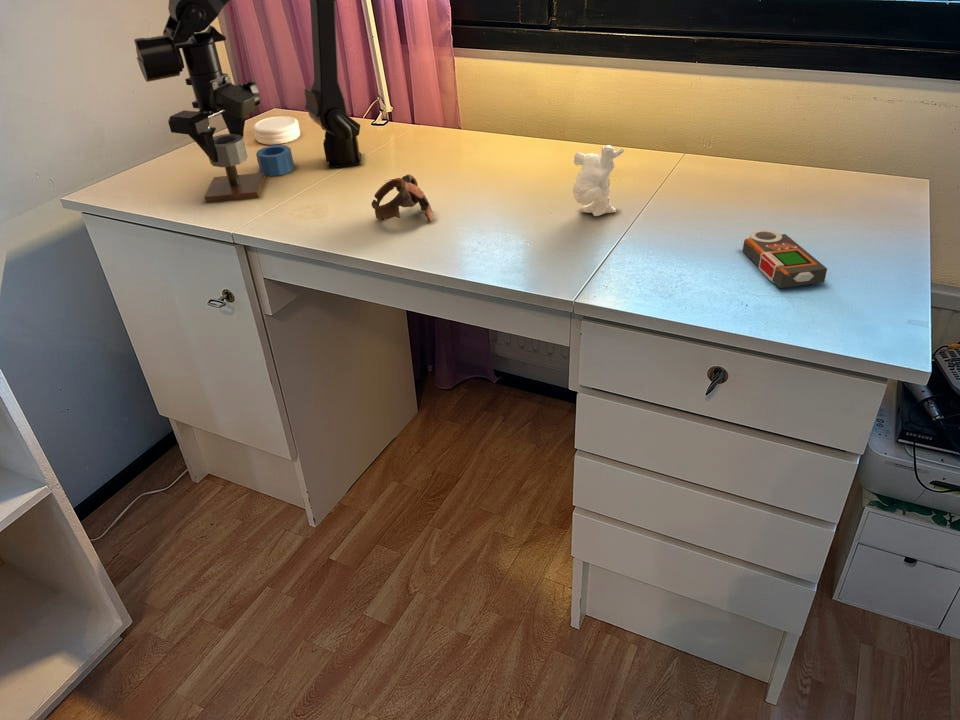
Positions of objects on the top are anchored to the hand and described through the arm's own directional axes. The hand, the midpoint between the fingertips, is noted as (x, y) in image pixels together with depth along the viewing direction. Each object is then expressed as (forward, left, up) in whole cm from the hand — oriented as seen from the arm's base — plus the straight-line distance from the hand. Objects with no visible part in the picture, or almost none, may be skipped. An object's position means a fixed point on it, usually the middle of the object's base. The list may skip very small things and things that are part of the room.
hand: (227, 155), depth 140 cm
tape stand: (0, 0, -7) cm, 7 cm away
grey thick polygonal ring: (0, 0, -1) cm, 1 cm away
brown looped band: (-33, +20, -7) cm, 39 cm away
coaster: (-5, -29, -7) cm, 30 cm away
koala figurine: (-66, +25, -7) cm, 71 cm away
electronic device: (-88, +49, -7) cm, 101 cm away
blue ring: (-7, -9, -7) cm, 13 cm away
